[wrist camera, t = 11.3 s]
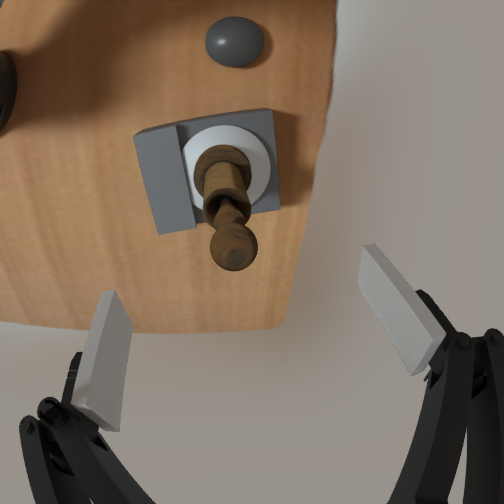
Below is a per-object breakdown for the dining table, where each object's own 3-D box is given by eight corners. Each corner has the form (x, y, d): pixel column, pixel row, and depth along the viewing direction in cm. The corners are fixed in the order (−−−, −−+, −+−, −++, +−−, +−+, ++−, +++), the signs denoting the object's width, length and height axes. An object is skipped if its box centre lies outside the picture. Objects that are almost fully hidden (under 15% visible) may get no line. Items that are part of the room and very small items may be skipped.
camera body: (164, 217, 39) (158, 234, 34) (143, 129, 31) (132, 136, 27) (274, 198, 40) (282, 213, 35) (265, 108, 32) (274, 110, 28)
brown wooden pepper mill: (191, 146, 29) (173, 213, 14) (248, 142, 30) (292, 203, 15) (196, 200, 33) (190, 304, 18) (250, 195, 34) (286, 295, 19)
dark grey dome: (209, 70, 29) (208, 69, 28) (202, 22, 25) (202, 20, 24) (264, 64, 29) (266, 63, 28) (259, 17, 25) (260, 14, 24)
